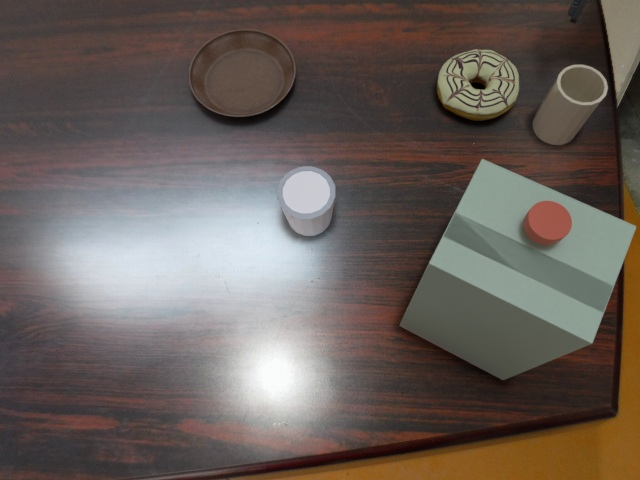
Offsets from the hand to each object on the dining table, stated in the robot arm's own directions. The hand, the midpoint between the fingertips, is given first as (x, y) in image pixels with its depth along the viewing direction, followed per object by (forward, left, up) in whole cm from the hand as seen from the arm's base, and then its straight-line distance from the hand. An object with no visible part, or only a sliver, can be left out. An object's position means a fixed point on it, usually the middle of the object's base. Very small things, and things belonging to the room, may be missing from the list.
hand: (607, 35), depth 63 cm
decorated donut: (+13, 0, -9) cm, 16 cm away
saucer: (+45, -4, -11) cm, 47 cm away
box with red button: (+16, +28, -11) cm, 34 cm away
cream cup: (+3, +5, -11) cm, 13 cm away
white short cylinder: (+36, +17, -11) cm, 41 cm away
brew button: (+17, +29, +13) cm, 36 cm away
